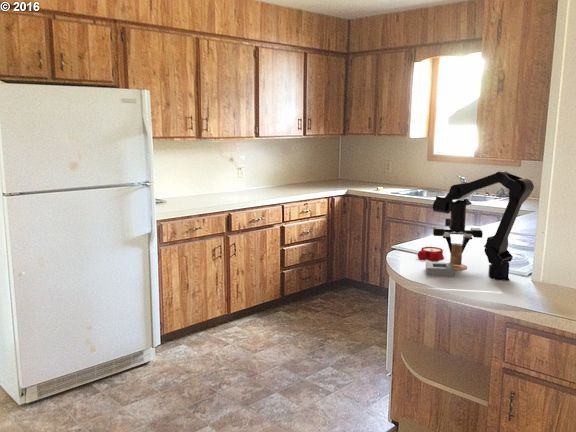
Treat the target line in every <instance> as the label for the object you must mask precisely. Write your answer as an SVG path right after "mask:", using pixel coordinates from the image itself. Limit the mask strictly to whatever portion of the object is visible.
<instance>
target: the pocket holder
mask: <svg viewBox="0 0 576 432" xmlns="http://www.w3.org/2000/svg"><path fill="white" fill-rule="evenodd" d="M425 272H426V276H427V277H444V278H445V277H446V278H454V277H455V270H454V268H453V265H452V263H450V262H442V261H441V262H438V261H425Z"/></svg>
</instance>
